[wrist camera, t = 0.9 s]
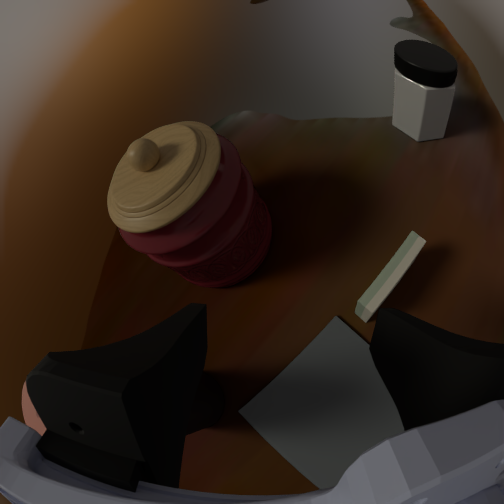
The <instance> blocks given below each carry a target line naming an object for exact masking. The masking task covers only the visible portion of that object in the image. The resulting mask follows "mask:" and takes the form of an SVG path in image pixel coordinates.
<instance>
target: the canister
mask: <svg viewBox="0 0 504 504" xmlns="http://www.w3.org/2000/svg"><path fill="white" fill-rule="evenodd" d="M108 210H109V214H110V217H111V219H112V220H113V222H114V223H115V224H116V225H117V226H118V228H119V231H120V234H121V236H122V237H123V239H124V240H125V242H126V243H127V244H128V245H129V246H130V247H132V248H133V249H135V250H137V251H139V252H141V253H145V254H146V255H147V256H148V257H150V258H151V259H152V260H153V261H155V262H157V263H159V264H161V265H164V266H167V267H168V268H170V269H172V270H173V271H175V272H177V273H178V274H179V275H180V276H181V277H183V278H184V279H185V280H187V281H189V282H191V283H193V284H195V285H198V286H202V287H210V288H223V287H228V286H232V285H235V284H237V283H239V282H241V281H243V280H245V279H246V278H248V277H249V276H250V275H251V274H253V273H254V272H255V271H256V270H257V269H258V267H259V266H260V265H261V264H262V262H263V261H264V259H265V257H266V256H267V253H268V251H269V248H270V245H271V241H272V221H271V216H270V213H269V210H268V208H267V206H266V204H265V202H264V200H263V199H262V198H261V196H260V195H259V194H258V192H257V190H256V189H255V187H254V185H253V181H252V178H251V175H250V173H249V171H248V170H247V168H246V167H245V166H244V165H243V163H241V159H240V156H239V153H238V151H237V149H236V147H235V146H234V145H233V144H232V143H231V141H229V140H228V139H227V138H225V137H224V136H222V135H220V134H217V133H215V132H214V131H213V130H212V129H211V128H210V127H209V126H207V125H205V124H203V123H200V122H194V121H184V122H178V123H174V124H170V125H166V126H163V127H160V128H157V129H155V130H153V131H151V132H150V133H148V134H146V135H145V136H143V137H142V138H140V139H138V140H136V141H134V142H133V143H132V144H131V145H130V146H129V148H128V151H127V152H126V153H125V155H124V156H123V157H122V159H121V161H120V162H119V164H118V166H117V167H116V170H115V172H114V175H113V178H112V181H111V184H110V188H109V192H108Z"/></svg>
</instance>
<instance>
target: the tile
mask: <svg viewBox="0 0 504 504" xmlns="http://www.w3.org/2000/svg"><path fill="white" fill-rule="evenodd" d="M425 242H426V241H425V240H424V239H423V238H421V237H420V236H419V235H418V234H416V233H415V232H414V231H412V232H411V233H410V234H409V236H408V237H407V239H406V240H405V241H404V243H403V244H402V245H401V247H400V248H399V250H398V251H397V252H396V254H395V255H394V256H393V258H392V259H391V260H390V262H389V263H388V264H387V265H386V267H385V268H384V269H383V271H382V272H381V273H380V274H379V276H378V277H377V278H376V279H375V281H374V282H373V283H372V284H371V286H370V287H369V288H368V289H367V291H366V292H365V293H364V294H363V295H362V297H361V298H360V299H359V300H358V302H357V306H356V309H355V313H356V314H357V315H358V316H359V317H360V318H361V319H362V320H364V321H365V322H367V321H368V320H369V319H370V318H371V316H372V315H373V314H374V313H375V312H376V310H377V309H378V308H379V307H380V305H381V304H382V303H383V302H384V300H385V299H386V298H387V297H388V295H389V294H390V293H391V292H392V290H393V289H394V288H395V286H396V285H397V284H398V282H399V281H400V280H401V278H402V277H403V276H404V274H405V273H406V272H407V270H408V269H409V267H410V266H411V265H412V263H413V262H414V260H415V258H416V257H417V255H418V254H419V252H420V250H421V249H422V247H423V246H424V244H425Z"/></svg>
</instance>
